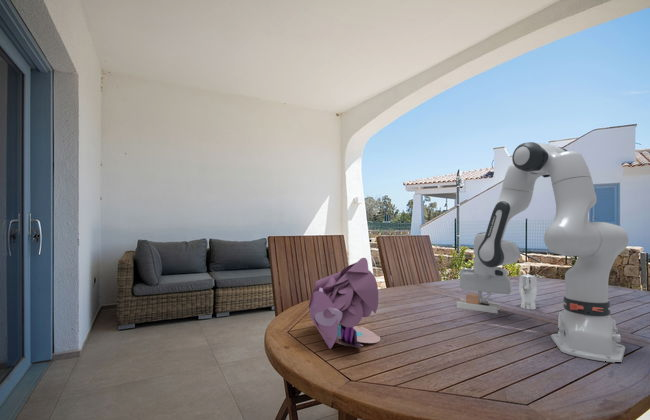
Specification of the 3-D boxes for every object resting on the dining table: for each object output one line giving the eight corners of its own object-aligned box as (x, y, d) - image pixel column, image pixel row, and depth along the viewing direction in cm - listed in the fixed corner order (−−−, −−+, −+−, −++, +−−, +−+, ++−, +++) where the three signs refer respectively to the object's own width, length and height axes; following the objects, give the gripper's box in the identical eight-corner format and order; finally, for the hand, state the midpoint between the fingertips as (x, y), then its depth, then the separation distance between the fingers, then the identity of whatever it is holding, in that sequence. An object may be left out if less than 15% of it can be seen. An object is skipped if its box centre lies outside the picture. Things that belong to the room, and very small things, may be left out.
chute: (497, 316, 142) (497, 307, 142) (456, 310, 151) (456, 302, 151) (499, 311, 148) (499, 303, 148) (460, 306, 157) (460, 298, 157)
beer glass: (540, 312, 149) (540, 277, 149) (524, 311, 149) (524, 276, 149) (531, 308, 156) (531, 274, 156) (516, 307, 156) (515, 274, 156)
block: (478, 310, 147) (478, 295, 147) (466, 308, 150) (466, 294, 150) (480, 307, 151) (480, 293, 151) (468, 305, 154) (468, 292, 154)
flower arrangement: (399, 367, 103) (421, 275, 104) (329, 363, 94) (352, 263, 95) (348, 322, 136) (364, 252, 136) (292, 317, 127) (309, 241, 127)
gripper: (457, 268, 152) (457, 300, 151) (510, 272, 140) (510, 307, 140) (461, 266, 157) (461, 297, 157) (512, 271, 146) (512, 303, 145)
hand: (484, 302), depth 148 cm, fingers closed
